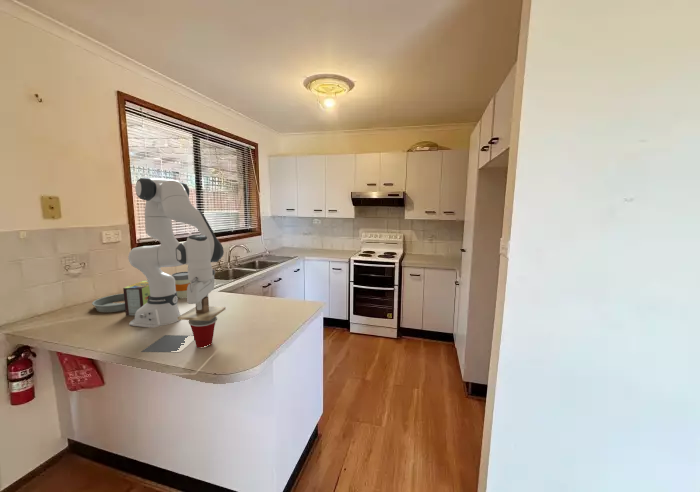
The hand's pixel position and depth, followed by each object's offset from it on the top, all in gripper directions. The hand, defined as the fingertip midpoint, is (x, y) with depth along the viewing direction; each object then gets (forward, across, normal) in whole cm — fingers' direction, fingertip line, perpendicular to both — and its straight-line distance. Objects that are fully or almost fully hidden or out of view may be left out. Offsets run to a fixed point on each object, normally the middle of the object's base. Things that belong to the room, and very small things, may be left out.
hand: (202, 307), depth 120 cm
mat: (+17, +3, +14) cm, 22 cm away
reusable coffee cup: (+17, +72, +37) cm, 83 cm away
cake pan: (+17, +57, +66) cm, 89 cm away
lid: (+3, 0, 0) cm, 3 cm away
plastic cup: (+17, 0, 0) cm, 17 cm away
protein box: (+17, +46, +47) cm, 68 cm away
